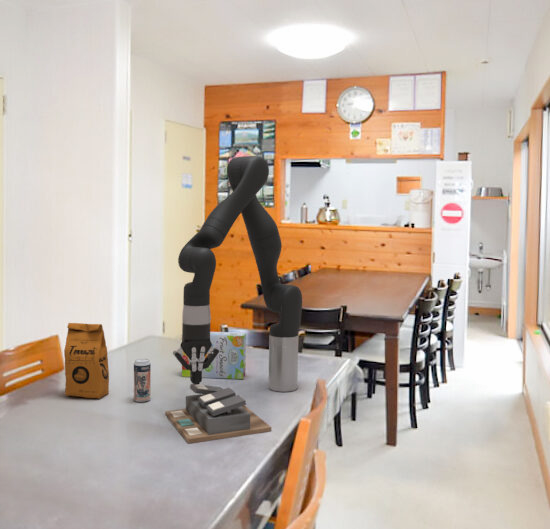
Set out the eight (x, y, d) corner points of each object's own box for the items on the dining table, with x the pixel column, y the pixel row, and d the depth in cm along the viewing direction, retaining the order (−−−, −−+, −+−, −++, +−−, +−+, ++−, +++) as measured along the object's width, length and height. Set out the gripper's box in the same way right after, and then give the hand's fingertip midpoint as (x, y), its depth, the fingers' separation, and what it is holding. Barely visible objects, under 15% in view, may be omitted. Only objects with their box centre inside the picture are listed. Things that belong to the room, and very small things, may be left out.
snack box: (245, 375, 207) (246, 332, 206) (243, 380, 201) (243, 335, 200) (185, 372, 209) (185, 329, 208) (181, 377, 204) (181, 333, 202)
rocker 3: (207, 413, 154) (205, 405, 154) (239, 401, 158) (237, 394, 158) (213, 419, 150) (211, 411, 149) (246, 407, 153) (245, 399, 153)
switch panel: (165, 415, 166) (165, 397, 165) (239, 405, 175) (240, 388, 175) (188, 443, 146) (188, 423, 146) (271, 431, 155) (271, 412, 155)
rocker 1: (189, 390, 167) (190, 383, 167) (219, 394, 170) (220, 386, 170) (194, 396, 162) (196, 388, 162) (225, 399, 166) (227, 391, 166)
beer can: (134, 403, 175) (134, 362, 174) (133, 398, 180) (133, 358, 179) (151, 402, 177) (151, 362, 175) (150, 397, 181) (149, 358, 180)
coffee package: (98, 401, 176) (98, 327, 174) (60, 398, 179) (58, 325, 177) (114, 391, 186) (113, 321, 184) (77, 389, 188) (76, 319, 186)
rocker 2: (198, 404, 161) (197, 397, 160) (230, 394, 164) (228, 386, 164) (204, 410, 156) (203, 402, 156) (236, 399, 160) (235, 391, 159)
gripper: (215, 317, 169) (214, 378, 171) (168, 320, 164) (168, 382, 165) (224, 322, 162) (223, 385, 164) (176, 325, 157) (175, 390, 158)
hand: (195, 383), depth 165 cm, fingers closed
